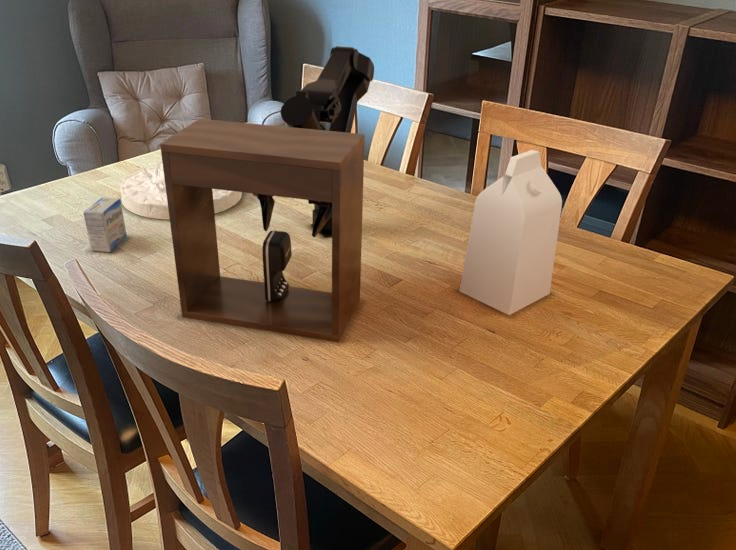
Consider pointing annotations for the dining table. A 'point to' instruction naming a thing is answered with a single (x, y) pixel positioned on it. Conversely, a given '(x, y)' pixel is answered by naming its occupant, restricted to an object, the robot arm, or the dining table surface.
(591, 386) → the dining table surface
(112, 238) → the medicine box
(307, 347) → the dining table surface
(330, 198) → the brown wooden cubby shelf
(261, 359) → the dining table surface
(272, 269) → the black rounded piece
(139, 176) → the cake
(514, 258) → the milk
